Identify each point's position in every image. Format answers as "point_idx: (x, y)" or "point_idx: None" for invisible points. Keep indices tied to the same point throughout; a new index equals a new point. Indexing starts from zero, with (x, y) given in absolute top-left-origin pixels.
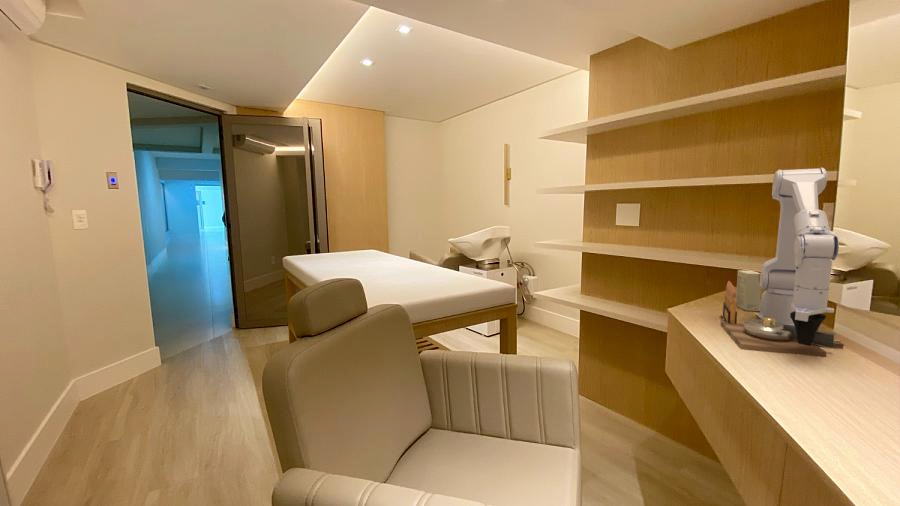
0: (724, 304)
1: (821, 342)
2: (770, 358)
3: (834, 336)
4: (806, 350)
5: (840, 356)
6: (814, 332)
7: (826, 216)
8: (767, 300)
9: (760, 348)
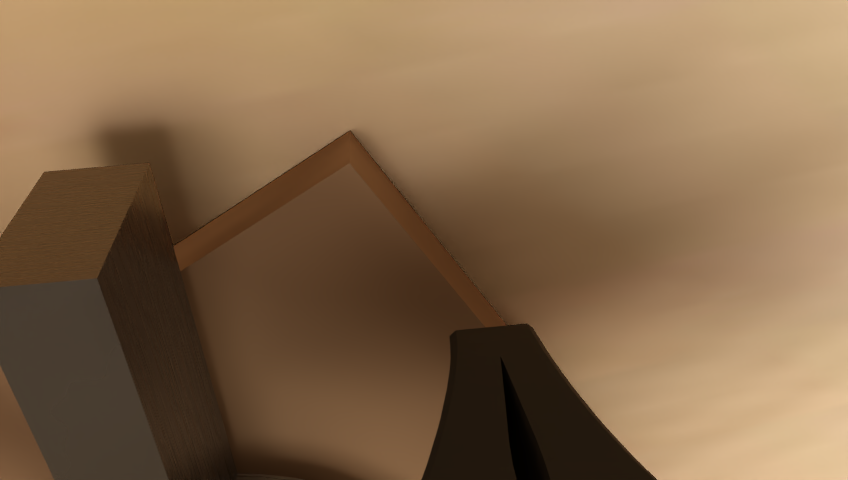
0: None
1: (174, 289)
2: (802, 399)
3: (49, 259)
4: (463, 302)
5: (147, 34)
6: (639, 464)
7: None
8: None
9: None
